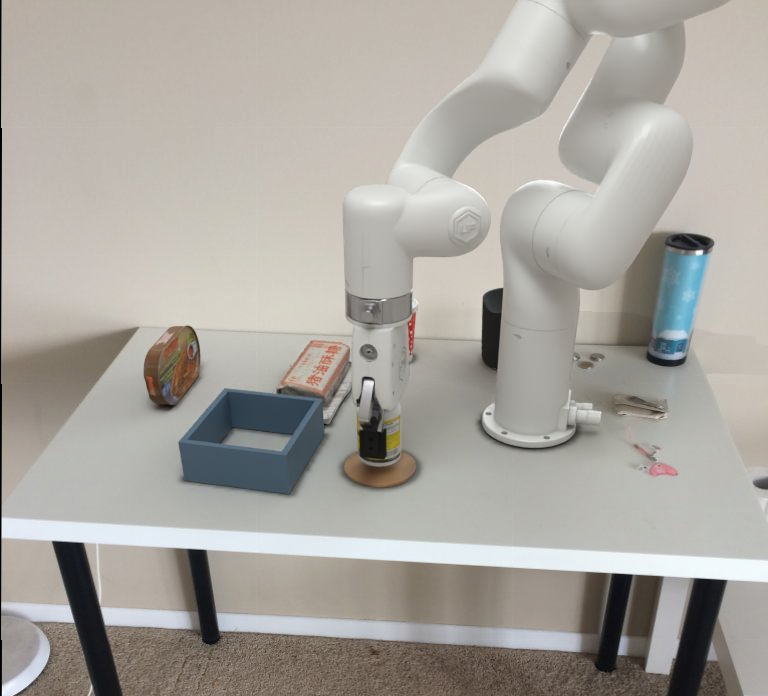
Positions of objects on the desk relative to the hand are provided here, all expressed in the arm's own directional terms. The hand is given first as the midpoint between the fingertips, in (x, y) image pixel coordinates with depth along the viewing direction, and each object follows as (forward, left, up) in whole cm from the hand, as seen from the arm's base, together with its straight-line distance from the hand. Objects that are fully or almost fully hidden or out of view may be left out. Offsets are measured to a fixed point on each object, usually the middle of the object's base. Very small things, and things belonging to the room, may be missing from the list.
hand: (379, 443), depth 107 cm
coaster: (0, 0, -4) cm, 4 cm away
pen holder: (-12, -35, -4) cm, 37 cm away
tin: (+34, -14, -4) cm, 37 cm away
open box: (+16, +1, -4) cm, 16 cm away
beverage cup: (+5, -32, -4) cm, 33 cm away
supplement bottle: (0, 0, -2) cm, 2 cm away
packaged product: (+14, -18, -4) cm, 23 cm away
